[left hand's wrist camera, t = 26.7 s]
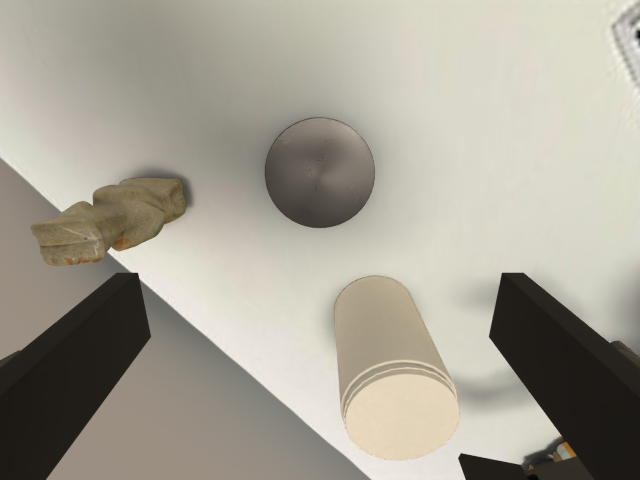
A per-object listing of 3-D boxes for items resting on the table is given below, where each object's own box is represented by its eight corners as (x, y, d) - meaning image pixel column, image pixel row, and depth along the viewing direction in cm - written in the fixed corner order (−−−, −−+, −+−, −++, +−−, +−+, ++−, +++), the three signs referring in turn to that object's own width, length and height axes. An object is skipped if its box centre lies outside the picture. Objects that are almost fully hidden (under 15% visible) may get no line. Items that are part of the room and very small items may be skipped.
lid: (375, 218, 41) (377, 222, 39) (275, 228, 41) (273, 232, 40) (370, 111, 36) (372, 111, 35) (258, 123, 37) (256, 124, 35)
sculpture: (123, 169, 38) (10, 204, 24) (189, 168, 38) (113, 203, 24) (134, 220, 40) (35, 279, 26) (196, 219, 40) (131, 278, 26)
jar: (340, 271, 43) (351, 365, 27) (421, 280, 43) (478, 377, 28) (329, 340, 47) (333, 457, 31) (404, 347, 47) (446, 467, 31)
